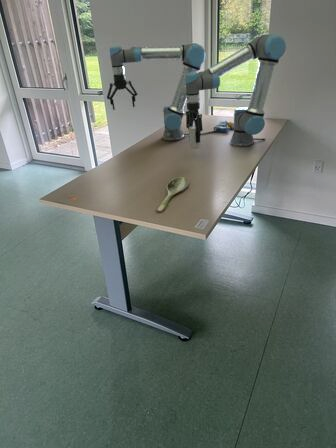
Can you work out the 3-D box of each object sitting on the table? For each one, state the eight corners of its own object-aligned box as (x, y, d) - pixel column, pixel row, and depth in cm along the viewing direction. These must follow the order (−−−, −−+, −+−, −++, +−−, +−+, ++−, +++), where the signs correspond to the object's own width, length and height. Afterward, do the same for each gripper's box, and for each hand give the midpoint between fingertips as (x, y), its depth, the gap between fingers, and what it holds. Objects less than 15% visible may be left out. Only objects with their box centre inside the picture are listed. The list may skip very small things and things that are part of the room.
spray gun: (238, 125, 262) (220, 124, 268) (238, 119, 260) (220, 119, 266) (230, 133, 247) (211, 133, 253) (230, 128, 244) (211, 127, 251)
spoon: (170, 216, 152) (169, 212, 151) (148, 213, 156) (148, 209, 155) (192, 180, 179) (192, 176, 178) (173, 178, 182) (173, 175, 181)
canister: (188, 147, 209) (187, 127, 202) (196, 145, 211) (196, 125, 204) (193, 149, 204) (192, 129, 197) (201, 147, 206) (201, 127, 199)
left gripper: (100, 76, 208) (106, 111, 219) (139, 72, 213) (143, 106, 224) (98, 75, 214) (104, 109, 225) (136, 71, 219) (140, 104, 230)
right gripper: (178, 101, 199) (181, 139, 211) (197, 105, 185) (198, 146, 197) (189, 98, 202) (191, 136, 214) (208, 103, 188) (209, 143, 200)
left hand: (123, 108), depth 224 cm, fingers open, 13 cm apart
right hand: (194, 141), depth 205 cm, fingers closed on canister, 6 cm apart
